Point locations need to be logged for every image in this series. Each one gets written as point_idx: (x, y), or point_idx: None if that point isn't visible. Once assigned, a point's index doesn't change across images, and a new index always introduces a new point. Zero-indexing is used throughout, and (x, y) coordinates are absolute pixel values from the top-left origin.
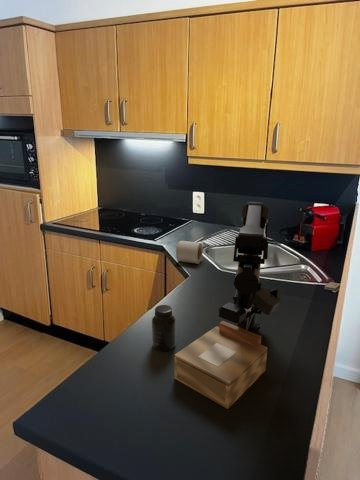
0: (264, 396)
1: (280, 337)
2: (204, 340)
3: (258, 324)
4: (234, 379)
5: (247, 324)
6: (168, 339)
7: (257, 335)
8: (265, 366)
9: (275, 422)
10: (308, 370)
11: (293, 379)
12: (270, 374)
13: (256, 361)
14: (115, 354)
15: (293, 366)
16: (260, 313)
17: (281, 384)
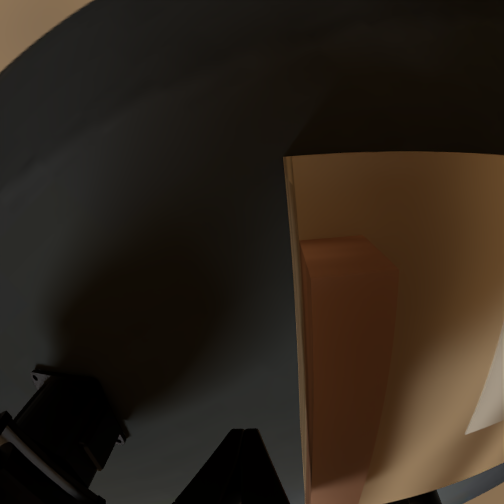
0: (445, 69)
1: (11, 269)
2: (463, 466)
3: (33, 378)
4: None
5: (257, 488)
6: (431, 502)
7: (329, 323)
8: (288, 156)
9: (496, 3)
10: (113, 23)
11: (232, 19)
12: (290, 118)
13: (469, 153)
14: (476, 488)
15: (133, 79)
16: (5, 416)
17: (317, 39)
